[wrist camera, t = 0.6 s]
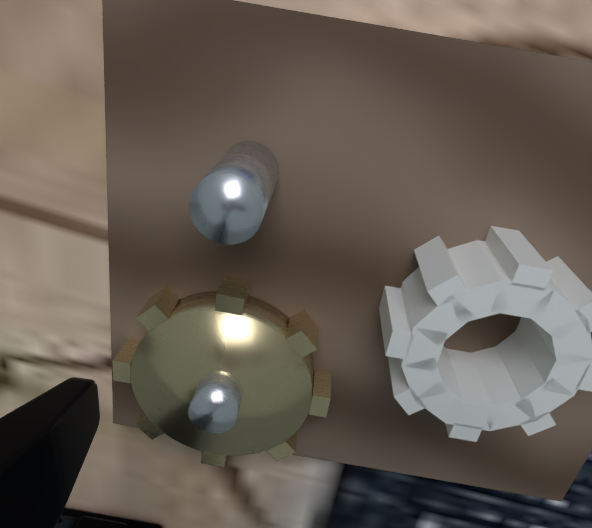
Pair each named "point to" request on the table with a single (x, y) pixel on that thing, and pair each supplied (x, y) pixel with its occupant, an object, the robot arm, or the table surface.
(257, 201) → the peg
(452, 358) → the pale gear
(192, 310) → the brass gear
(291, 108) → the gear board
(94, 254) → the table surface
